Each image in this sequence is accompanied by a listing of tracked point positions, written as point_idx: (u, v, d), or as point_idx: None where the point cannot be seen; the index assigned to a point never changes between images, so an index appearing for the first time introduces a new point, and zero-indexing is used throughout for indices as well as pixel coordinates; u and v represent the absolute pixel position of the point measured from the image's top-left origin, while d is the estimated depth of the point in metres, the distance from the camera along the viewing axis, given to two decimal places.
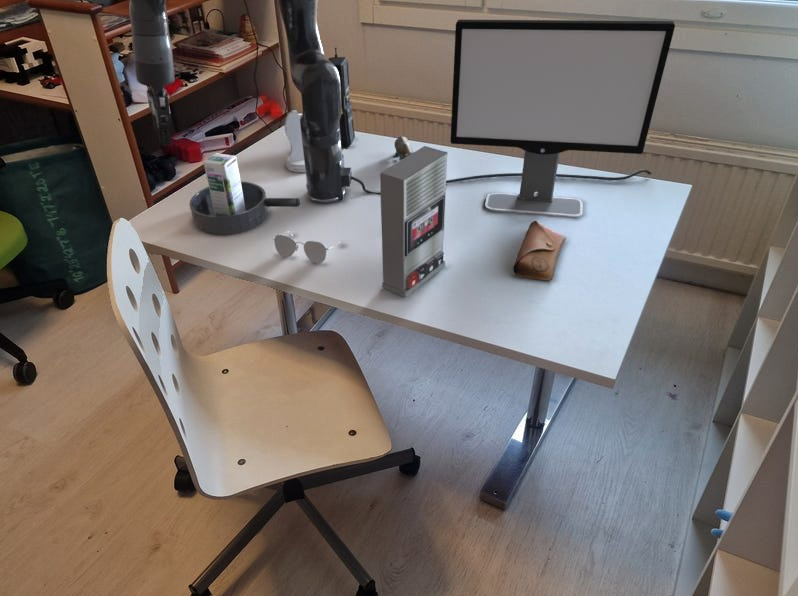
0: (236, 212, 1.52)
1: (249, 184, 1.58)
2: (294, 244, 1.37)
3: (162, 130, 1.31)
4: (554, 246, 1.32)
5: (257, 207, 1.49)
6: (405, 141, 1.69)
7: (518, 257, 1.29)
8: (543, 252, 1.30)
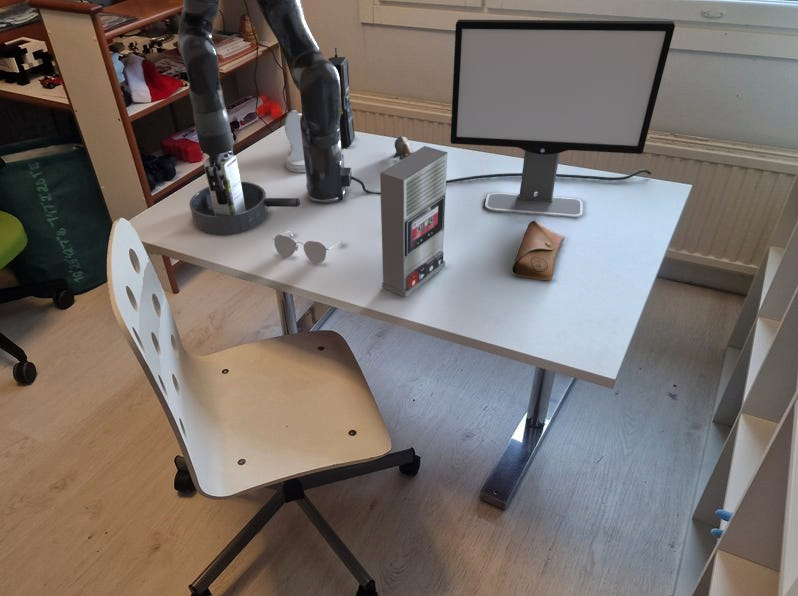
0: (236, 212, 1.52)
1: (249, 184, 1.58)
2: (294, 244, 1.37)
3: (217, 192, 1.46)
4: (553, 246, 1.32)
5: (257, 207, 1.49)
6: (405, 141, 1.69)
7: (517, 257, 1.29)
8: (542, 252, 1.30)
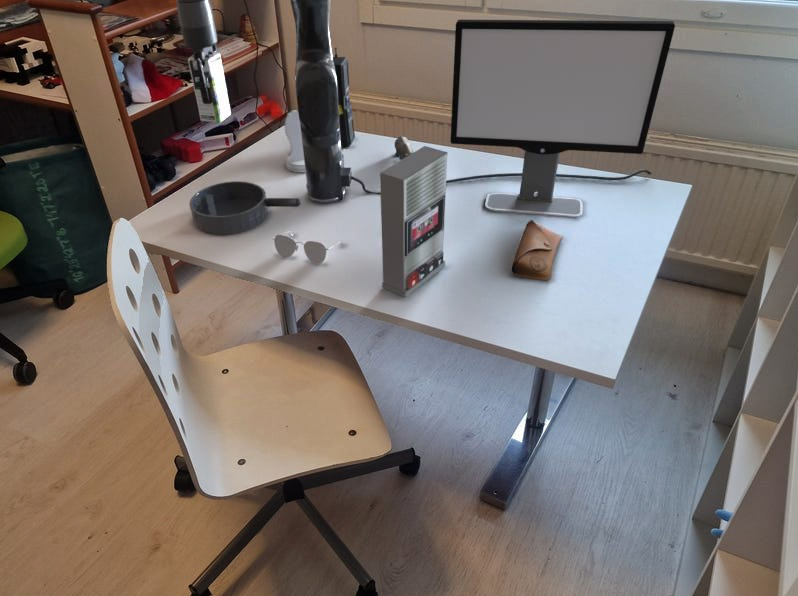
0: (221, 113, 1.52)
1: (249, 184, 1.58)
2: (294, 244, 1.37)
3: (201, 90, 1.47)
4: (551, 245, 1.32)
5: (257, 207, 1.49)
6: (405, 141, 1.69)
7: (516, 257, 1.29)
8: (541, 252, 1.31)
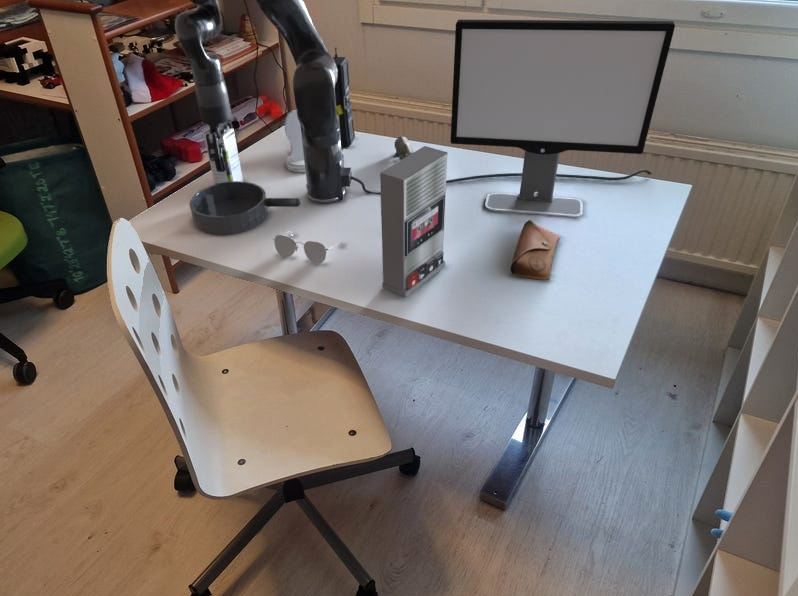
0: None
1: (249, 184, 1.58)
2: (294, 244, 1.37)
3: (216, 160, 1.59)
4: (550, 245, 1.32)
5: (257, 207, 1.49)
6: (405, 141, 1.69)
7: (515, 257, 1.29)
8: (539, 251, 1.31)
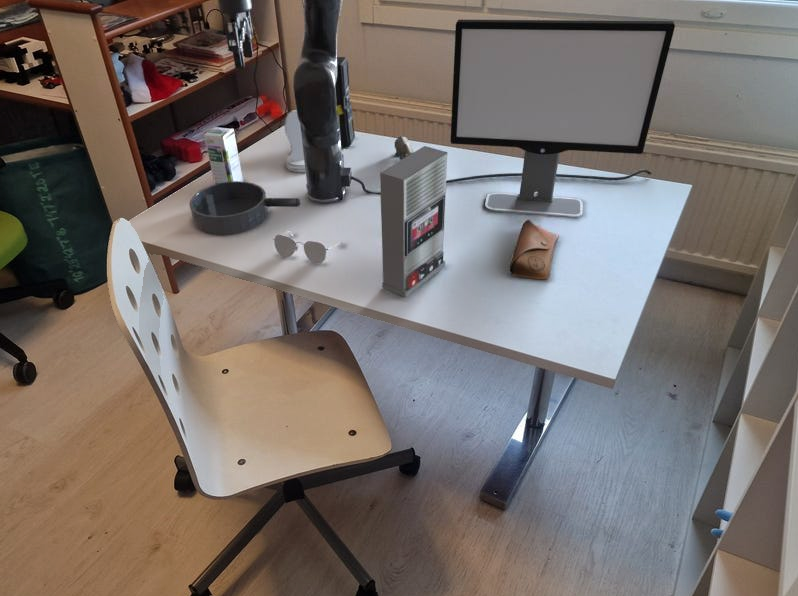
0: None
1: (249, 184, 1.58)
2: (294, 244, 1.37)
3: (234, 54, 1.49)
4: (549, 245, 1.32)
5: (257, 207, 1.49)
6: (405, 141, 1.69)
7: (514, 257, 1.29)
8: (538, 251, 1.31)
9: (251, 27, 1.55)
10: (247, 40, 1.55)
